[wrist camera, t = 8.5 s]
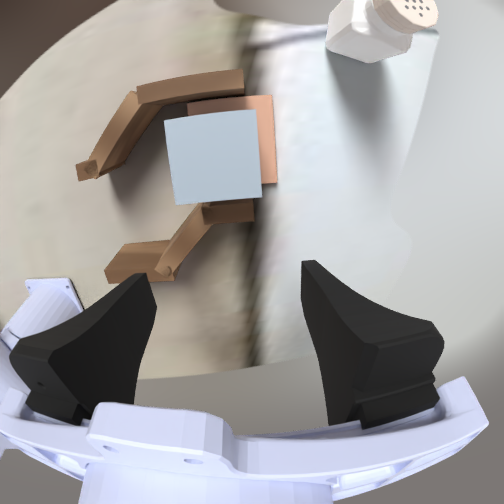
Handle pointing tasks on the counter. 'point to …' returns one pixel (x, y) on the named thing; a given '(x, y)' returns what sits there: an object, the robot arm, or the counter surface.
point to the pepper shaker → (377, 27)
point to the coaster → (263, 126)
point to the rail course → (119, 147)
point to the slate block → (214, 156)
